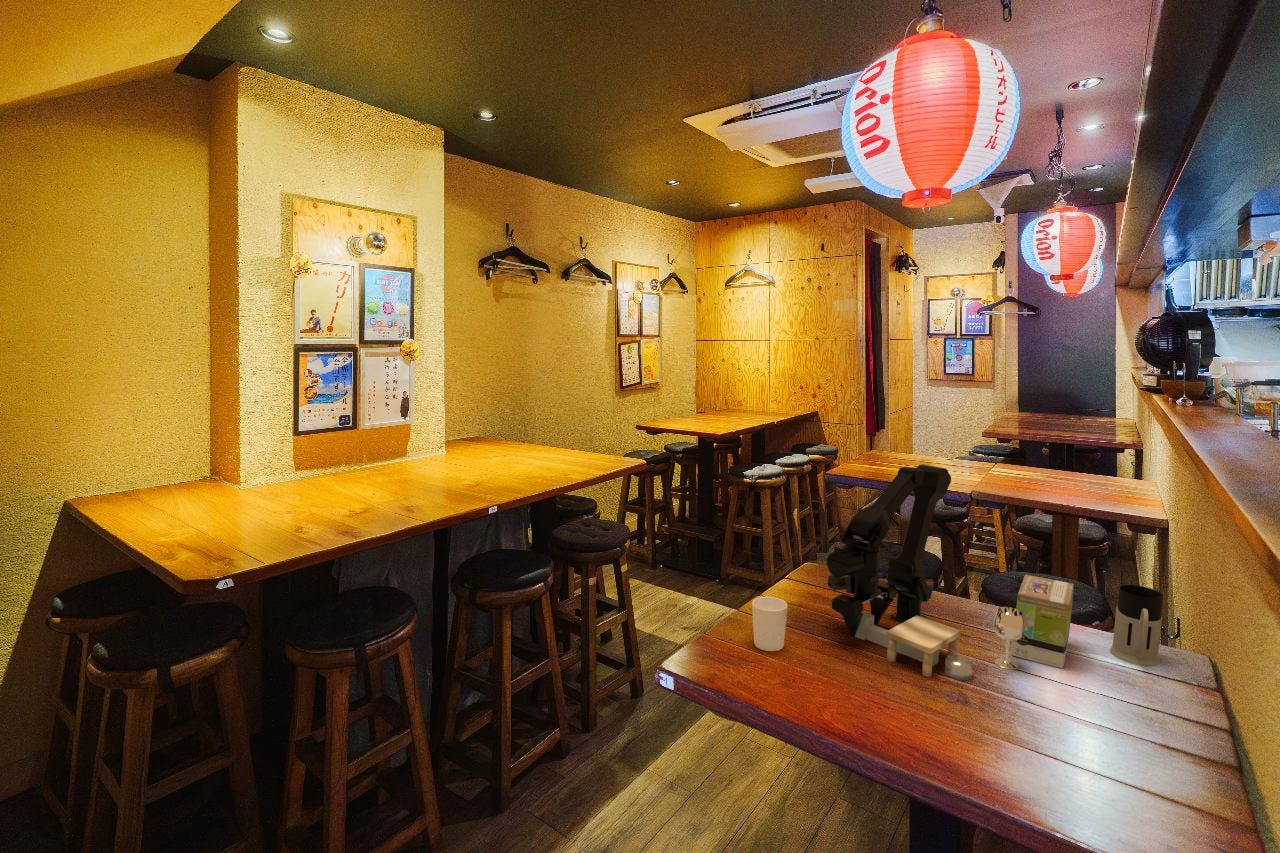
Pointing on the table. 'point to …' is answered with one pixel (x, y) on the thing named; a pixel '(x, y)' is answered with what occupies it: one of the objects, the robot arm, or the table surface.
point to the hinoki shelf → (922, 639)
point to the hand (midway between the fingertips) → (863, 631)
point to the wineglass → (1008, 631)
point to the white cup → (769, 623)
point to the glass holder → (1137, 625)
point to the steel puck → (958, 667)
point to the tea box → (1044, 620)
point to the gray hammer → (879, 637)
